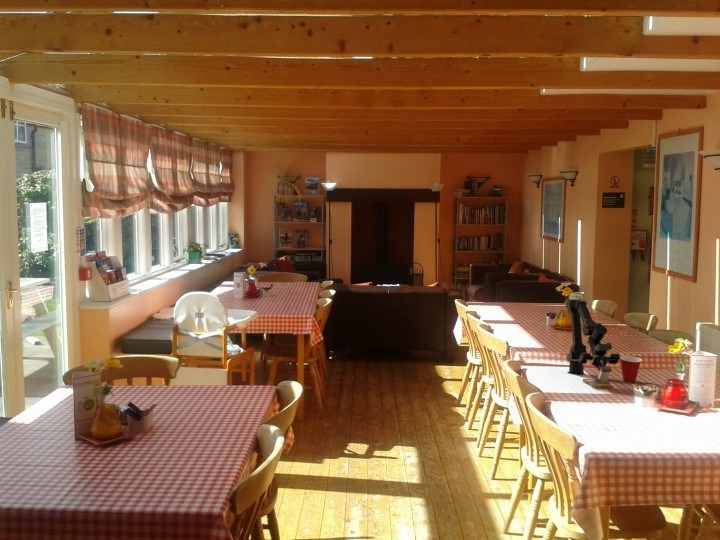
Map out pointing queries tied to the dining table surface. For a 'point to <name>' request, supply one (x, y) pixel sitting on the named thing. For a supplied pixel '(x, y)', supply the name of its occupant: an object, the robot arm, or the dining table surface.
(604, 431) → the dining table surface
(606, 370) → the switch lever
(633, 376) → the plastic cup
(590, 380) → the switch base
